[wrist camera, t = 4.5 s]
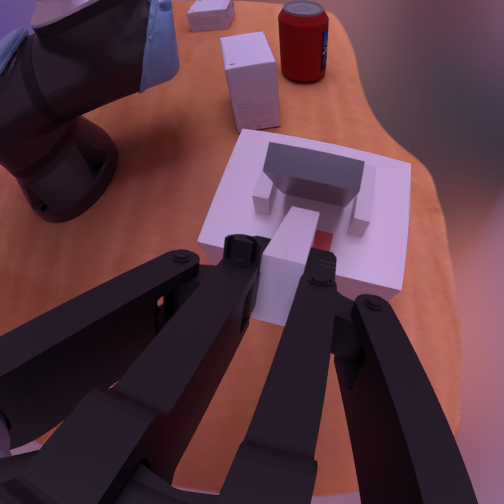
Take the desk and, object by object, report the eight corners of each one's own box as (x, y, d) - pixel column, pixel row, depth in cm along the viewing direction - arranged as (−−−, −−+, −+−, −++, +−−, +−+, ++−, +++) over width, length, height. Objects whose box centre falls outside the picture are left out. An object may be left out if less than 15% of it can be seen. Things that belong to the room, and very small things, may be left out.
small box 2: (280, 127, 39) (277, 62, 29) (237, 134, 39) (224, 70, 29) (269, 90, 42) (264, 30, 32) (231, 96, 42) (219, 36, 32)
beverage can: (334, 77, 42) (339, 11, 31) (297, 90, 41) (296, 20, 30) (308, 57, 44) (308, -5, 33) (273, 68, 44) (267, 4, 32)
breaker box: (376, 312, 29) (417, 281, 19) (217, 273, 32) (188, 227, 22) (391, 206, 33) (422, 147, 23) (251, 175, 36) (239, 109, 26)
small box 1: (229, 30, 50) (225, 9, 45) (190, 33, 51) (185, 13, 47) (235, 14, 53) (232, -5, 48) (200, 17, 54) (196, -2, 49)
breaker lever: (344, 208, 24) (359, 191, 15) (283, 194, 25) (262, 170, 16) (348, 188, 24) (365, 161, 15) (287, 175, 25) (269, 141, 16)
